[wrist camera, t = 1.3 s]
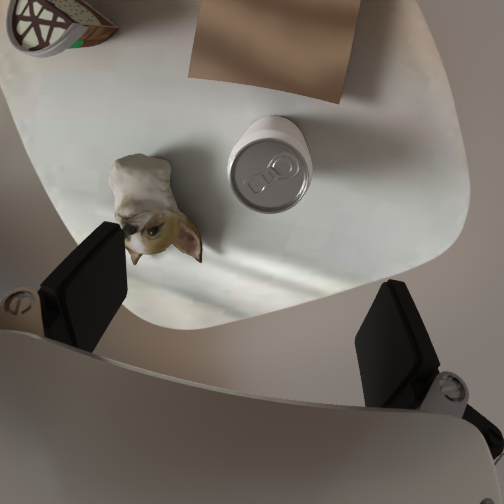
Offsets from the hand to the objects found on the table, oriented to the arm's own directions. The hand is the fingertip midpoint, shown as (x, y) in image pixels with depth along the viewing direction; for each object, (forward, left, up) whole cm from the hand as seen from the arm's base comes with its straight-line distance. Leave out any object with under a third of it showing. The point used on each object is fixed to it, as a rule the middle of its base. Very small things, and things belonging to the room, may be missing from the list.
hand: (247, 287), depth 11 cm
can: (0, 0, -25) cm, 25 cm away
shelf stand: (-15, -2, -25) cm, 29 cm away
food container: (-12, -25, -25) cm, 37 cm away
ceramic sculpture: (+9, -12, -25) cm, 29 cm away
